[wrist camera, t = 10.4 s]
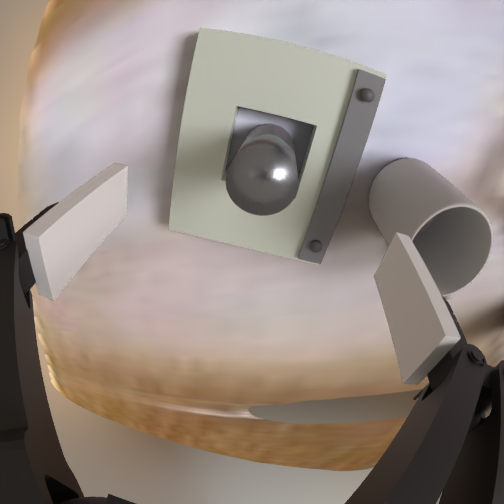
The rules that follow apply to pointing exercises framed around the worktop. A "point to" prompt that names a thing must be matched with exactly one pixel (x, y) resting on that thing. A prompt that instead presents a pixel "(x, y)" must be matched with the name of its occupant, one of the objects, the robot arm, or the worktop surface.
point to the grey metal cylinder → (264, 171)
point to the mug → (432, 222)
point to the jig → (279, 103)
